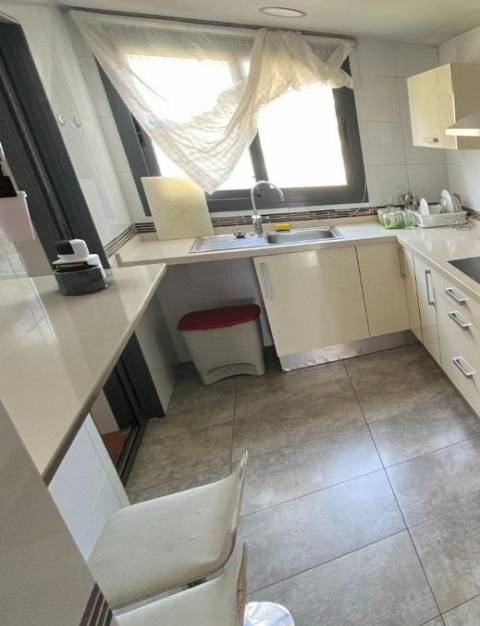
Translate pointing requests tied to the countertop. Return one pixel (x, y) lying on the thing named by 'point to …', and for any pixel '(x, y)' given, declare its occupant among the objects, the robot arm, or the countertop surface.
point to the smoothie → (16, 218)
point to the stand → (80, 279)
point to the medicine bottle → (74, 254)
